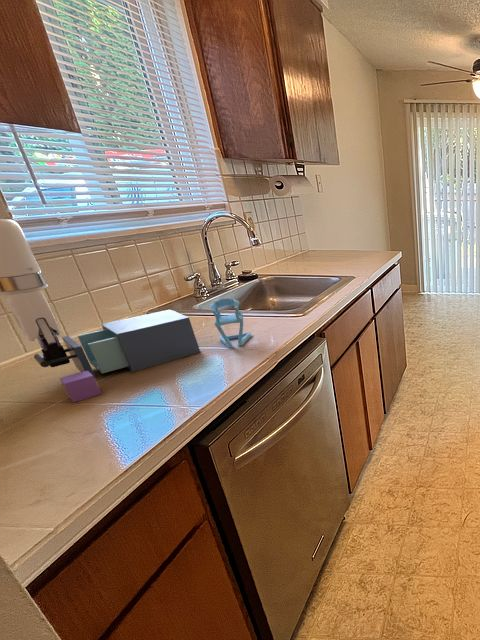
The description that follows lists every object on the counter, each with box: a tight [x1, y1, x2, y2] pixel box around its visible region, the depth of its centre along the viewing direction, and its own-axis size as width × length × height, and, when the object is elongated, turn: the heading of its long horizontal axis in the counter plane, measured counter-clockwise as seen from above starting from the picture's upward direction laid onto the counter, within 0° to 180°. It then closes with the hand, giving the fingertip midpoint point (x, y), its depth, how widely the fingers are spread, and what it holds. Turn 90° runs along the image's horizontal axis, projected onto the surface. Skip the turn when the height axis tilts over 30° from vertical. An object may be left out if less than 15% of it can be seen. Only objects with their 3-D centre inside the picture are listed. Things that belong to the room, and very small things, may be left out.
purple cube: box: [59, 371, 102, 403], centre depth 84 cm, size 4×4×4 cm
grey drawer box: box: [101, 308, 201, 372], centre depth 101 cm, size 15×13×10 cm
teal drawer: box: [33, 329, 129, 379], centre depth 93 cm, size 19×11×8 cm, turn 144°
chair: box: [209, 298, 252, 349], centre depth 109 cm, size 8×8×12 cm
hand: (60, 364), depth 89 cm, fingers closed
